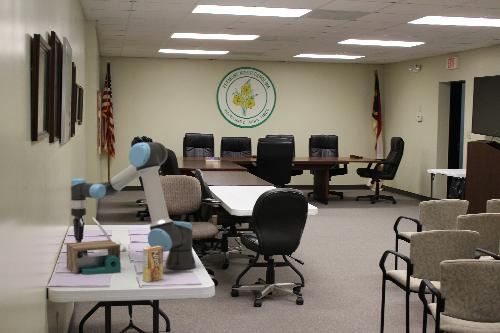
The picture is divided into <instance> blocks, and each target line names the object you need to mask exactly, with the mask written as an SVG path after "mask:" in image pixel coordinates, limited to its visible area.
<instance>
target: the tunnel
mask: <svg viewBox="0 0 500 333" xmlns="http://www.w3.org/2000/svg"><path fill="white" fill-rule="evenodd" d="M111 240H112V239H111ZM111 240H108V239H103V240H93V241H82V242H78V243H76V242H70V243H69V242H68V243H66V269H68V270H69V271H70V272H72V273H73V274H75V275H78V273H79V272H78V251H87V252H88V251H92V250H100V249H108V253H107V255H112V254H115V256H116V257H117V258H118V259H119V260H120V261H121V252H120V245H119V244H117V243H115V241H113V240H112V241H111Z"/></svg>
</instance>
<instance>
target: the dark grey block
mask: <svg viewBox="0 0 500 333" xmlns="http://www.w3.org/2000/svg"><path fill="white" fill-rule="evenodd" d="M77 243H78V242H77ZM112 255H115V254H112ZM107 256H108V254H106V255H102V254H101V255H94V256H93V255H92V256H91V255H89V254H88V251H78V273H79V272H82V268H86V267H101V266H104V260H105V258H106V257H107ZM113 263H114V261H113V262H111V264H113Z"/></svg>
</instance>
